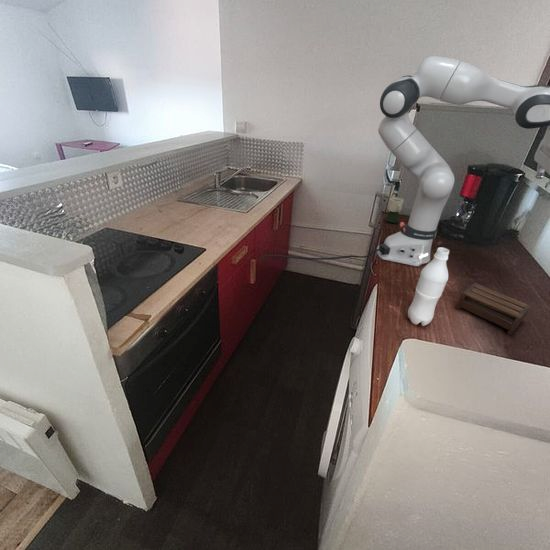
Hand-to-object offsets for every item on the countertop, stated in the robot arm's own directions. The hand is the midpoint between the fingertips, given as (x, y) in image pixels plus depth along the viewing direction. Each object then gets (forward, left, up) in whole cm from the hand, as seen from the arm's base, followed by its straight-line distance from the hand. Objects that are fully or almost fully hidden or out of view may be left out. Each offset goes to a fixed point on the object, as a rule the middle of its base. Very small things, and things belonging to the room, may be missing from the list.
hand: (543, 183), depth 96 cm
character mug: (-34, +52, -37) cm, 72 cm away
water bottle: (-36, -35, -37) cm, 62 cm away
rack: (-13, -27, -37) cm, 47 cm away
